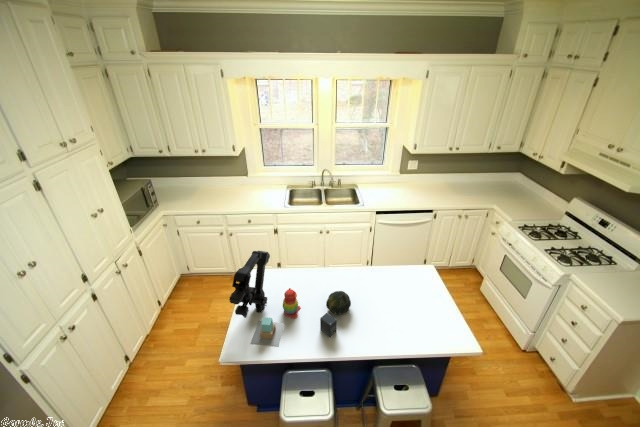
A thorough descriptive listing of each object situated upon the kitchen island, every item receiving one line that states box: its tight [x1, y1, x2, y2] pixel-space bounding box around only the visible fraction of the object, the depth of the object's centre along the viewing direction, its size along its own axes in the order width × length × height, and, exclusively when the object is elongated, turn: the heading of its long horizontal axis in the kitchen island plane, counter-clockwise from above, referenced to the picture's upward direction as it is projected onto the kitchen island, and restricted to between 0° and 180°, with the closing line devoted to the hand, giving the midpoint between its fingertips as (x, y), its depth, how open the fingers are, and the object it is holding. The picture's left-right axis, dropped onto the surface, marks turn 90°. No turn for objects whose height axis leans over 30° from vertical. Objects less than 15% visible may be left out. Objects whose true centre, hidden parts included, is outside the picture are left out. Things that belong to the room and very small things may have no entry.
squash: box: [325, 290, 352, 316], centre depth 182 cm, size 14×15×15 cm
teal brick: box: [261, 316, 274, 332], centre depth 165 cm, size 5×5×6 cm
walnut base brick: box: [260, 324, 276, 339], centre depth 168 cm, size 7×7×4 cm
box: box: [319, 312, 338, 339], centre depth 168 cm, size 8×6×11 cm
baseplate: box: [250, 320, 286, 348], centre depth 169 cm, size 16×16×1 cm
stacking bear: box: [282, 287, 302, 320], centre depth 179 cm, size 11×10×18 cm
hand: (247, 311), depth 167 cm, fingers open, 9 cm apart
